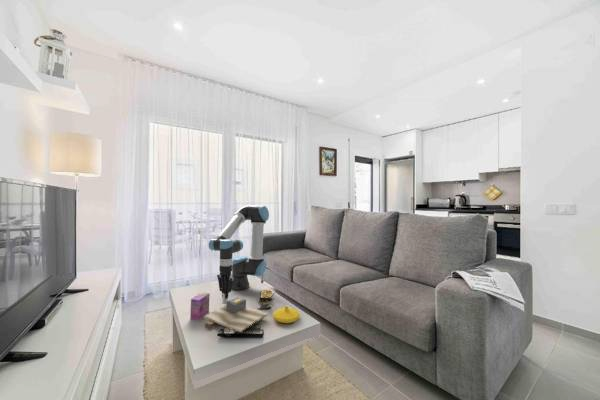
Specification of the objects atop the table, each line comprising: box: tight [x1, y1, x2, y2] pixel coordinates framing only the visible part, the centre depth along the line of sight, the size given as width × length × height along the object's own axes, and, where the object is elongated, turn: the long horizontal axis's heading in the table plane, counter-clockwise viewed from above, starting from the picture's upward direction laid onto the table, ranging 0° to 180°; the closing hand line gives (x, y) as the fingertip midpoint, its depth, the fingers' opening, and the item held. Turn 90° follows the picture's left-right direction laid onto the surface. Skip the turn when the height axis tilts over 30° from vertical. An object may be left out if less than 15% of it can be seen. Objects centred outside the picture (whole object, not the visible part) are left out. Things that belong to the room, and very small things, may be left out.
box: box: [189, 292, 210, 321], centre depth 144 cm, size 10×6×12 cm, turn 168°
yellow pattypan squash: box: [272, 306, 301, 324], centre depth 142 cm, size 16×16×7 cm
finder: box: [225, 296, 247, 314], centre depth 146 cm, size 9×7×5 cm
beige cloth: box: [203, 305, 269, 333], centre depth 138 cm, size 25×28×4 cm
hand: (225, 303), depth 151 cm, fingers closed
